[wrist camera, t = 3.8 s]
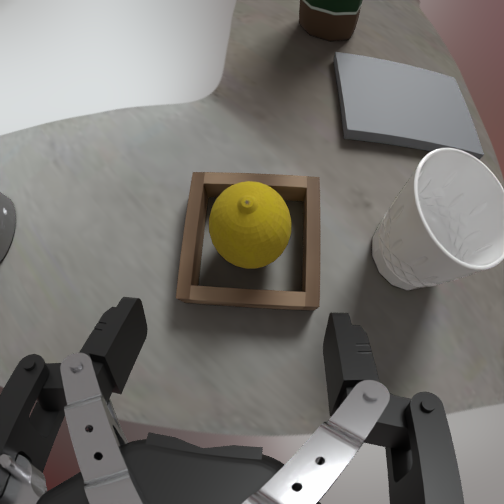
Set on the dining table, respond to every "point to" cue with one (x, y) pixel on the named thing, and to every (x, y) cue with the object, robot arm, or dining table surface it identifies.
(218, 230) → the lemon
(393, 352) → the dining table surface
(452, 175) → the white cup
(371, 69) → the gray board
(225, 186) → the walnut collar
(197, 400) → the dining table surface
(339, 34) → the beer bottle
